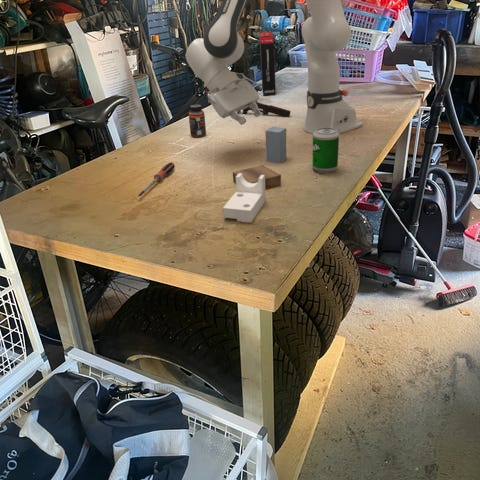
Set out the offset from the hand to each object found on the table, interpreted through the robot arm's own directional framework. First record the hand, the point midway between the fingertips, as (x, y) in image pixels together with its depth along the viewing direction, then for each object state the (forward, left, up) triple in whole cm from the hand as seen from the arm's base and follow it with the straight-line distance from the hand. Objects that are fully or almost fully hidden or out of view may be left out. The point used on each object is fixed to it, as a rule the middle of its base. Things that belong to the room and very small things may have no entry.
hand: (251, 119), depth 151 cm
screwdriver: (+35, +3, -13) cm, 37 cm away
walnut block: (+11, +20, -12) cm, 26 cm away
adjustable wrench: (-29, -43, -13) cm, 54 cm away
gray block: (-4, +7, -12) cm, 15 cm away
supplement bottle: (+5, -34, -13) cm, 36 cm away
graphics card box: (-54, -79, -13) cm, 96 cm away
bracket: (+22, +34, -13) cm, 42 cm away
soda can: (-11, +23, -13) cm, 29 cm away
